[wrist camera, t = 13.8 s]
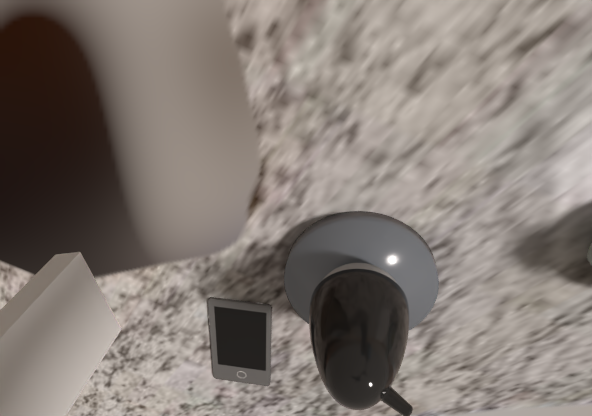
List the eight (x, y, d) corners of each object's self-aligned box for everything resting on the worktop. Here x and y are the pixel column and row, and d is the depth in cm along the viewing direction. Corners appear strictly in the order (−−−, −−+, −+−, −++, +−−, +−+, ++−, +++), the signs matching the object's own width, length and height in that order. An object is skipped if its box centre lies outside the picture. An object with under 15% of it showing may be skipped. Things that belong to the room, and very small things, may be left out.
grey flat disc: (432, 203, 48) (435, 213, 46) (439, 326, 56) (441, 339, 54) (273, 219, 51) (269, 228, 49) (301, 332, 59) (299, 344, 57)
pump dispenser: (379, 332, 55) (382, 455, 42) (299, 298, 54) (277, 413, 41) (426, 272, 50) (446, 391, 37) (338, 233, 49) (327, 341, 36)
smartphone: (208, 293, 59) (206, 297, 58) (272, 302, 58) (271, 306, 57) (214, 374, 66) (212, 378, 66) (270, 382, 65) (269, 386, 65)
